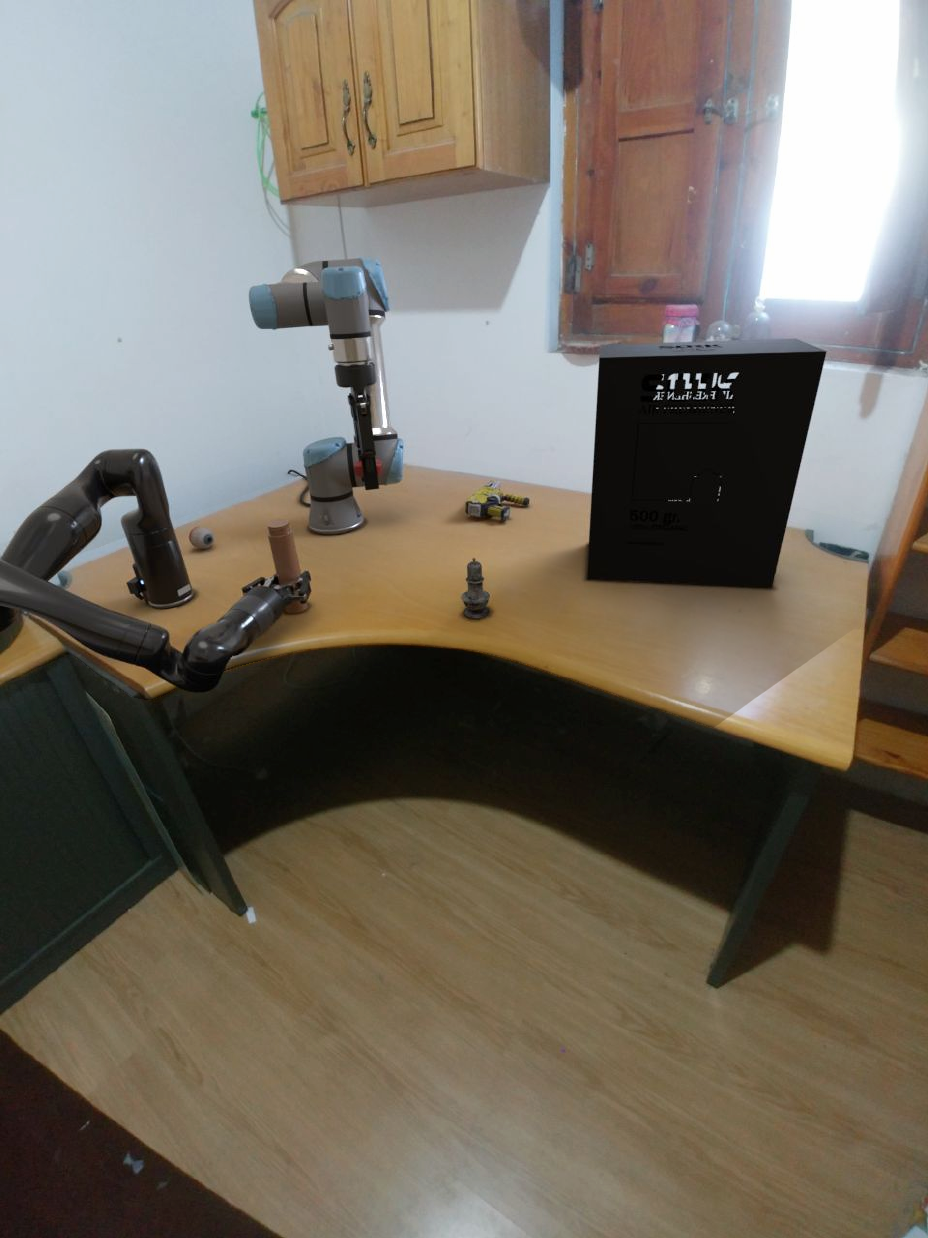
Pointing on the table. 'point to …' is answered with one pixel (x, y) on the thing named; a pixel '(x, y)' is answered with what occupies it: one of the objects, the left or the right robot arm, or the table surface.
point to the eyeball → (201, 537)
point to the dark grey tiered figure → (475, 592)
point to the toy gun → (492, 502)
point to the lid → (359, 470)
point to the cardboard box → (698, 459)
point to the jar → (285, 558)
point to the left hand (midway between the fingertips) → (296, 574)
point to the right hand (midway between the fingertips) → (370, 484)
